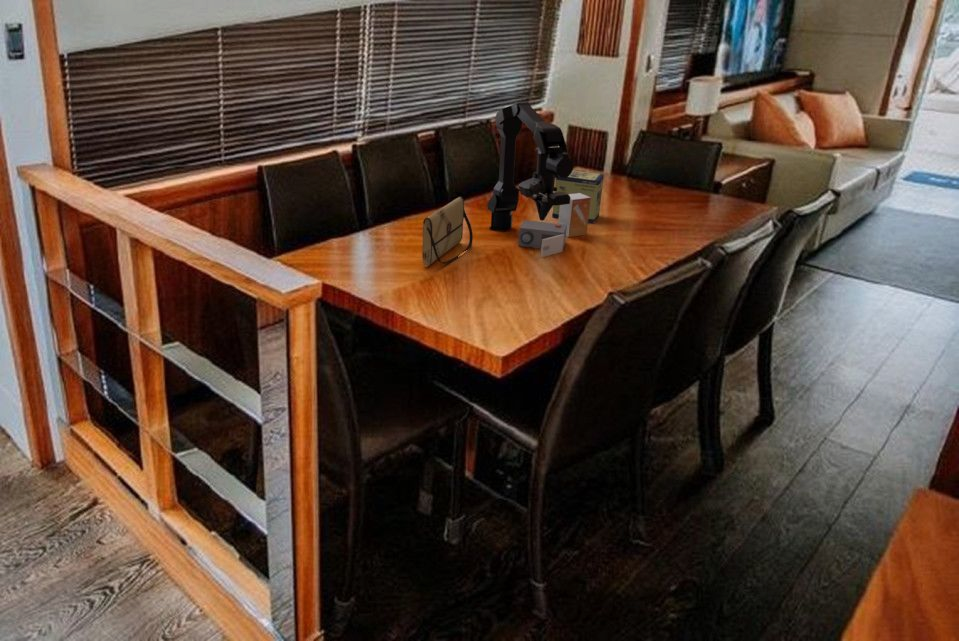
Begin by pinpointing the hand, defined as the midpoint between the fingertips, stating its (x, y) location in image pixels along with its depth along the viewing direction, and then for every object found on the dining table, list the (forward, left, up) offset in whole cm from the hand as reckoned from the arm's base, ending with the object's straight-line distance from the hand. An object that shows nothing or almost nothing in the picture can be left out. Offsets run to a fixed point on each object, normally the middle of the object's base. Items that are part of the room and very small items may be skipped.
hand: (541, 220), depth 242 cm
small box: (+8, +24, -11) cm, 27 cm away
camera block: (0, +9, -10) cm, 14 cm away
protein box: (+7, +45, -11) cm, 47 cm away
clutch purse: (-26, -12, -11) cm, 30 cm away
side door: (+4, 0, -10) cm, 11 cm away
